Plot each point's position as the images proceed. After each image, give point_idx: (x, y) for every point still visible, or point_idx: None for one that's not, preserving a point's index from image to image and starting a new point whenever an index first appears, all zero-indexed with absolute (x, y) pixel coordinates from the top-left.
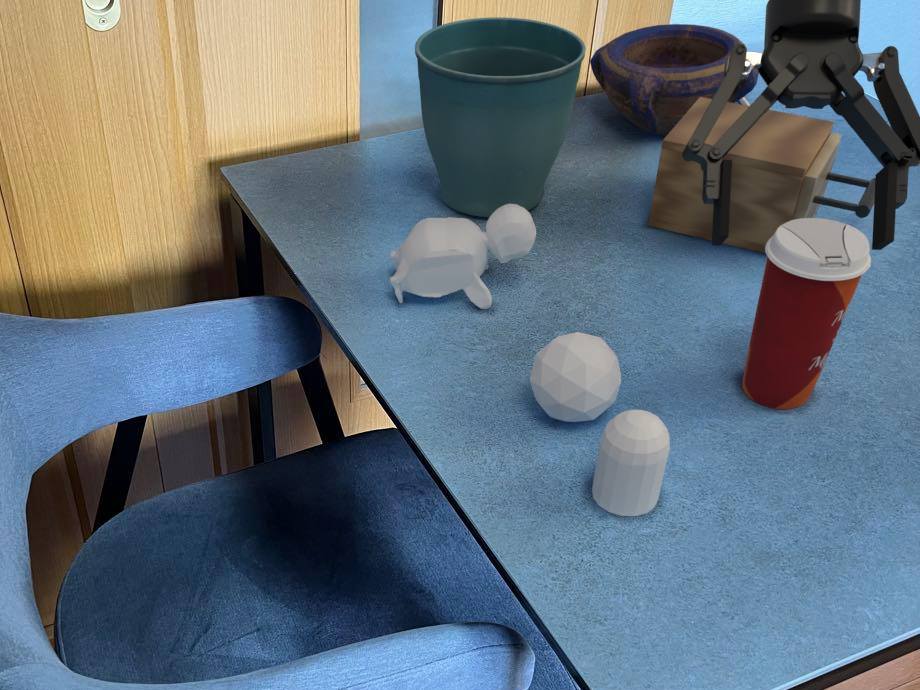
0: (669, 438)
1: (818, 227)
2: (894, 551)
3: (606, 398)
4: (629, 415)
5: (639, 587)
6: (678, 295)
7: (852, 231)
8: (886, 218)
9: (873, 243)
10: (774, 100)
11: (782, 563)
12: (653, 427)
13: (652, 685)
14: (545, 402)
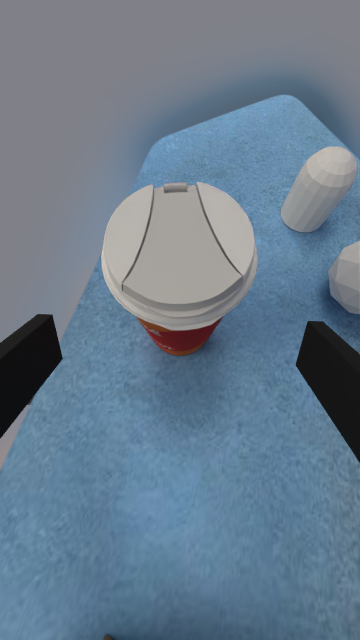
0: (306, 164)
1: (176, 269)
2: (144, 180)
3: (345, 247)
4: (349, 156)
5: (289, 155)
6: (255, 507)
7: (120, 260)
8: (30, 332)
9: (57, 358)
10: None
11: (210, 171)
12: (327, 150)
13: (282, 111)
14: None
